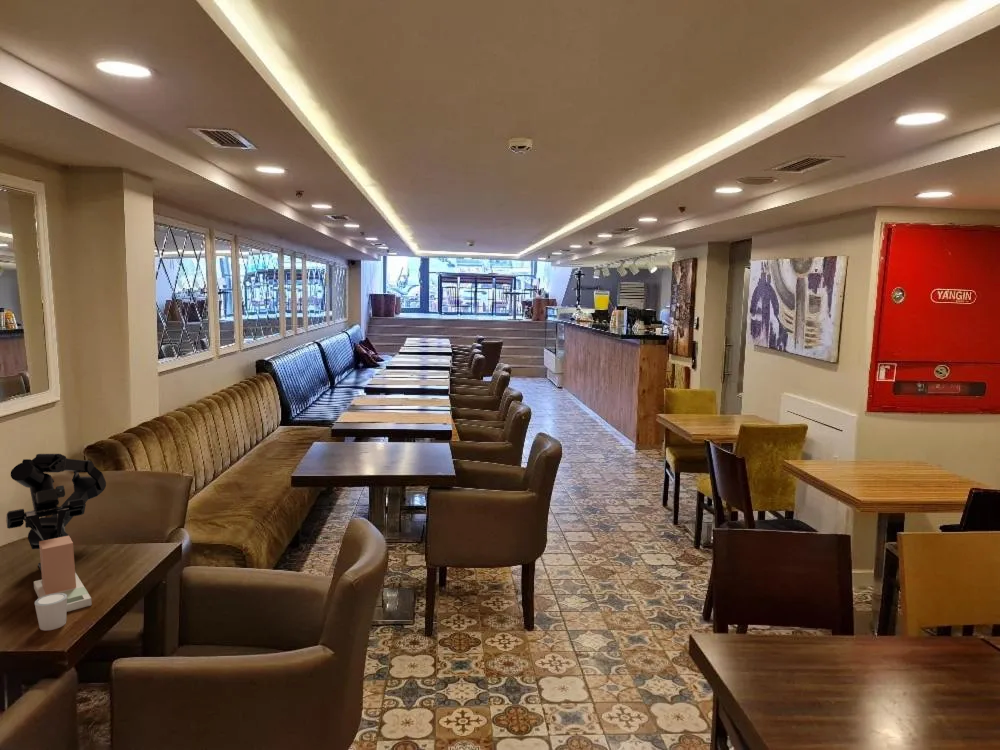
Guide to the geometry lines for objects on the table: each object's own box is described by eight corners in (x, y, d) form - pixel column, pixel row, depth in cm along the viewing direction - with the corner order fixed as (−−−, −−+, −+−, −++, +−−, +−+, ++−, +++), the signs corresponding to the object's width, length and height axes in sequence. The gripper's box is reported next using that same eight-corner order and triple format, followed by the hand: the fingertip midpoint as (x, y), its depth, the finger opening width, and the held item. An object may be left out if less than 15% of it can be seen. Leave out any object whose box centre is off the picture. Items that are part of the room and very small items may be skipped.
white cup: (56, 632, 160) (54, 605, 159) (29, 631, 160) (27, 604, 160) (75, 618, 167) (73, 592, 166) (49, 617, 167) (47, 592, 166)
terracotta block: (42, 585, 181) (39, 541, 179) (72, 578, 185) (68, 535, 183) (45, 594, 175) (42, 549, 174) (76, 587, 180) (73, 542, 178)
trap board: (34, 588, 183) (33, 581, 183) (75, 578, 190) (74, 571, 190) (47, 617, 167) (46, 609, 167) (91, 604, 174) (91, 597, 174)
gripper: (4, 484, 180) (12, 533, 174) (82, 472, 193) (92, 517, 186) (3, 504, 187) (11, 552, 180) (78, 491, 200) (88, 535, 193)
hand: (51, 538), depth 185 cm, fingers open, 3 cm apart
